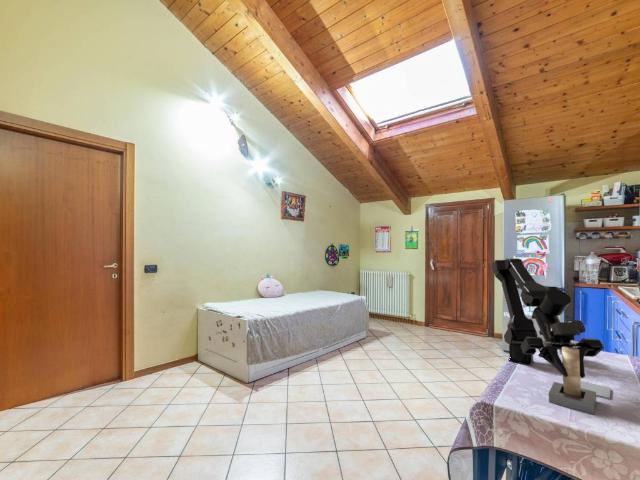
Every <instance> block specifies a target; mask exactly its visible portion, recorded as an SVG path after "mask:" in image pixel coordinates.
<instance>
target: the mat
mask: <svg viewBox="0 0 640 480" xmlns="http://www.w3.org/2000/svg"><path fill="white" fill-rule="evenodd" d="M580 383H581V388H582V389H586V390H590V391H594V392H596V398H597V397H598V398H602V399H606V400H611V390H612V388H611V387H610V386H605V385H601V384H596V383H592V382H587V381H583V380H580Z"/></svg>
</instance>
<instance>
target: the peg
mask: <svg viewBox="0 0 640 480" xmlns="http://www.w3.org/2000/svg"><path fill="white" fill-rule="evenodd" d="M561 361H562V363H563V365H564V367H565V369H566V372H567V375H568V376H567V377H564V376H563V375H562V381H563V382H562V384H563V387H564V394H567V395H570V396H574V397H578V398H581V383H580V381H581V376H580V360H579V349H576V348H573V347H562V355H561Z"/></svg>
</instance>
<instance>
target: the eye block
mask: <svg viewBox="0 0 640 480" xmlns="http://www.w3.org/2000/svg"><path fill="white" fill-rule="evenodd" d="M548 402H549V404H550V403H551V404H555V405H558V406H561V407H564V408H565V407H566V408H569V409H572V410H575V411H579V412H583V413H586V414H590V415H595V411H596V405H597V396H596V392H594V391H590V390H586V389H582V388H581V398H578V397H574V396H570V395H567V394H564V387H563V383H560V382H555V381H553V383H552V385H551V387H550V390H549V391H548Z"/></svg>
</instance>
